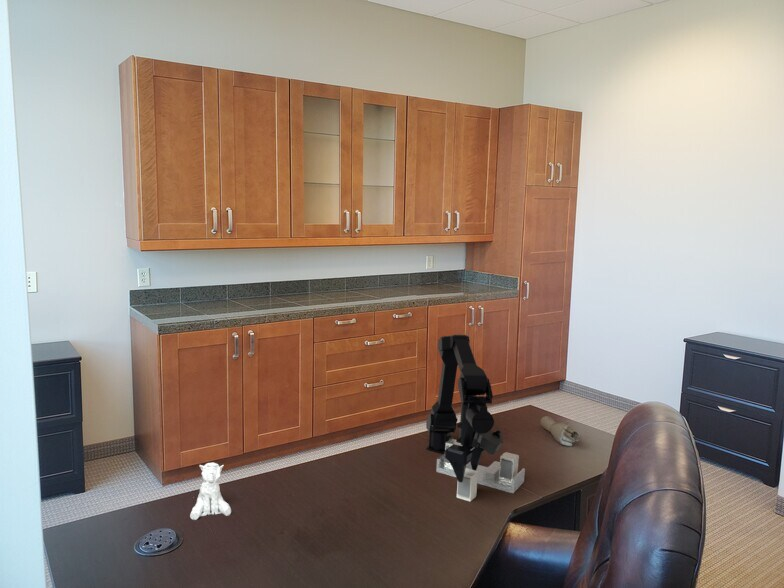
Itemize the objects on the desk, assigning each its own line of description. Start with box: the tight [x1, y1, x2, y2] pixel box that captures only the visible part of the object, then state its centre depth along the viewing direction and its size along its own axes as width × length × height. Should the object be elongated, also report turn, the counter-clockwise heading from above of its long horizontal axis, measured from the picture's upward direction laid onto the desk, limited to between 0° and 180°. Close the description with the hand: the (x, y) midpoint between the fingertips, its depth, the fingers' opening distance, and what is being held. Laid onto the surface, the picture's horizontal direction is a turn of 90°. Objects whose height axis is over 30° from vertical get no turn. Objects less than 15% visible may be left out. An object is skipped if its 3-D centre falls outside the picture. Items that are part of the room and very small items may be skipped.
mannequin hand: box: [539, 415, 581, 447], centre depth 209 cm, size 7×7×25 cm
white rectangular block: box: [456, 468, 478, 502], centre depth 163 cm, size 4×4×7 cm
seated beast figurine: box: [189, 462, 232, 521], centre depth 149 cm, size 10×9×12 cm
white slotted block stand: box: [435, 438, 526, 494], centre depth 176 cm, size 24×9×8 cm, turn 59°
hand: (467, 475), depth 163 cm, fingers open, 9 cm apart
